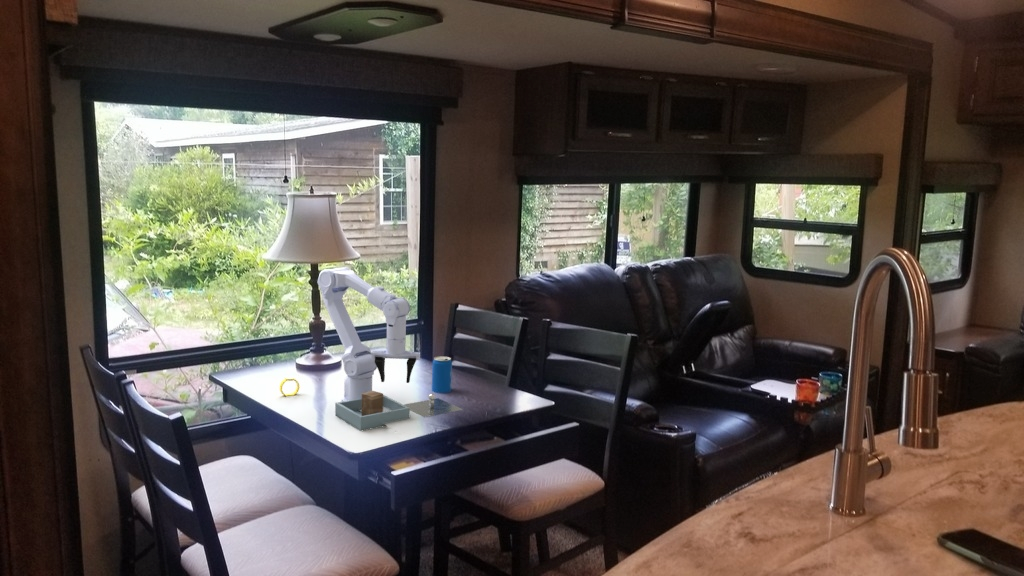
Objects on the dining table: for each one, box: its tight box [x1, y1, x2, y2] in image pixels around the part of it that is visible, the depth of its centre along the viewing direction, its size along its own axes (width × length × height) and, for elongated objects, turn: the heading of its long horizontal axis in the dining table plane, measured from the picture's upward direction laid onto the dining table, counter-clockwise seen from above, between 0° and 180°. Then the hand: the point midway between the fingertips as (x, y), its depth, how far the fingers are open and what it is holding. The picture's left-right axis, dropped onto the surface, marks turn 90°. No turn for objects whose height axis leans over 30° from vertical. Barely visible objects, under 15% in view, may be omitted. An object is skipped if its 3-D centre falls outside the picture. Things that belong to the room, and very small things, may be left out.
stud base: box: [403, 393, 464, 418], centre depth 228 cm, size 14×14×5 cm
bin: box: [334, 394, 411, 432], centre depth 219 cm, size 16×16×4 cm
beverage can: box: [431, 355, 453, 394], centre depth 247 cm, size 6×6×12 cm
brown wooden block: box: [361, 390, 384, 416], centre depth 218 cm, size 4×4×7 cm
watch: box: [279, 376, 300, 397], centre depth 238 cm, size 6×3×6 cm, turn 123°
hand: (395, 381), depth 225 cm, fingers open, 7 cm apart
